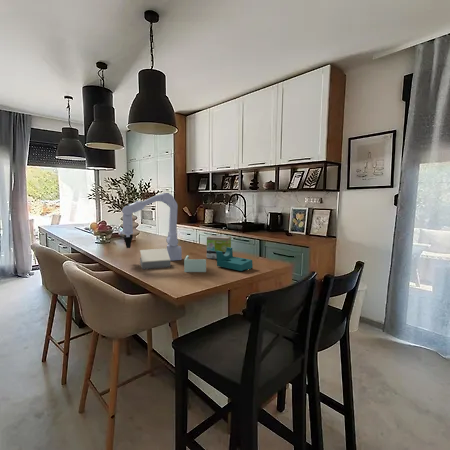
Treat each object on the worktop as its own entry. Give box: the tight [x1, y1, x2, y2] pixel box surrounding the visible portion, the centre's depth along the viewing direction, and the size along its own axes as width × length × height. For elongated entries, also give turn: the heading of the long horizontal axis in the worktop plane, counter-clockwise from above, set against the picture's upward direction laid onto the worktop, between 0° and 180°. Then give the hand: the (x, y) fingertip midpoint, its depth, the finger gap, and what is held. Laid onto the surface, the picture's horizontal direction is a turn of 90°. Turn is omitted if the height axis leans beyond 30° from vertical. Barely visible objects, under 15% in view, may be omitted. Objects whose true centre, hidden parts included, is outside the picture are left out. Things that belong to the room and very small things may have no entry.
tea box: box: [206, 235, 232, 260], centre depth 193 cm, size 15×10×15 cm
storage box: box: [139, 257, 171, 270], centre depth 170 cm, size 16×14×4 cm
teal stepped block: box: [216, 247, 254, 272], centre depth 165 cm, size 18×11×10 cm, turn 50°
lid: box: [139, 247, 170, 262], centre depth 170 cm, size 16×14×1 cm
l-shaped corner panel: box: [183, 255, 207, 273], centre depth 162 cm, size 12×12×8 cm
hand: (128, 247), depth 176 cm, fingers open, 7 cm apart
